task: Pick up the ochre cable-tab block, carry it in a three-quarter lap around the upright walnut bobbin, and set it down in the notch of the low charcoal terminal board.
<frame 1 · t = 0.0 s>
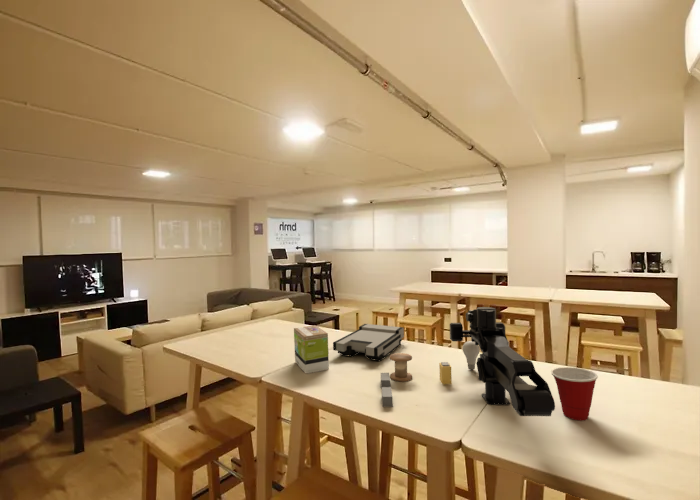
hand: (470, 326, 129), 17 cm above the table, tool horizontal, fingers open, 9 cm apart
lightbulb: (471, 370, 129), on the table
bobbin: (401, 377, 124), on the table
tea box: (311, 366, 138), on the table
tab block: (445, 381, 119), on the table
notch board: (386, 392, 111), on the table
game console: (370, 351, 157), on the table
plastic cup: (574, 415, 94), on the table
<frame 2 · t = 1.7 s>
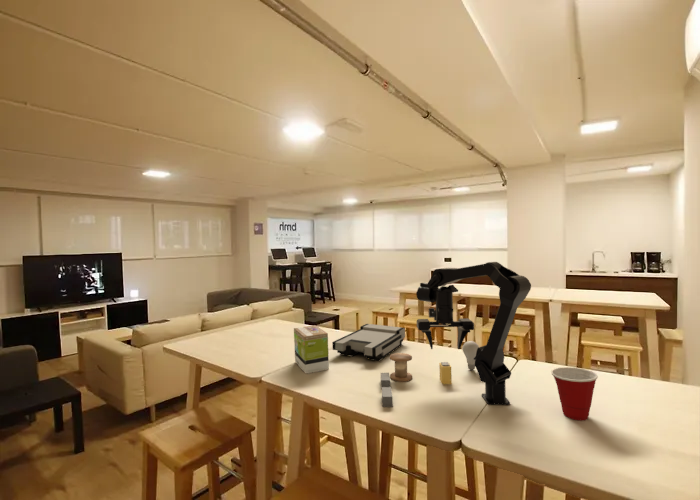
hand: (445, 349, 119), 11 cm above the table, tool pointing down, fingers open, 9 cm apart
nothing on the table moved.
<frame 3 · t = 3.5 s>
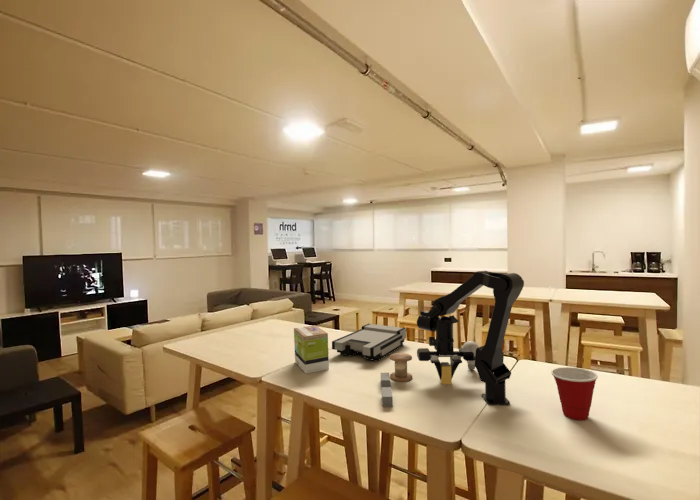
hand: (445, 378, 119), 1 cm above the table, tool pointing down, fingers closed on tab block, 3 cm apart
tab block: (445, 381, 119), on the table, touching gripper
everything else where it was.
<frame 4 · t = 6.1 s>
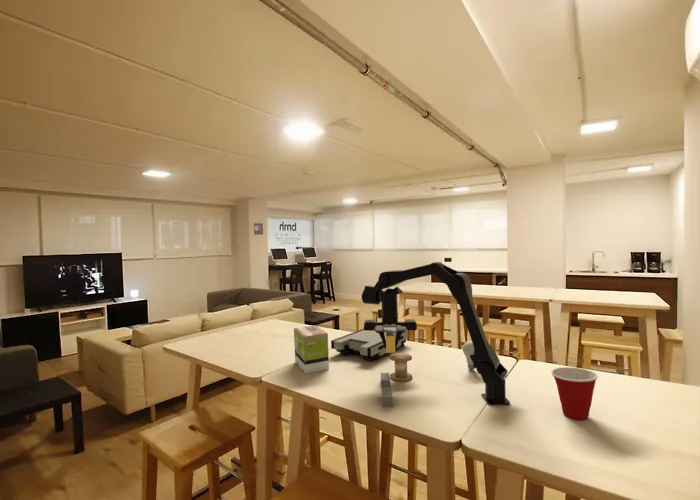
hand: (390, 348, 124), 10 cm above the table, tool pointing down, fingers closed on tab block, 3 cm apart
tab block: (390, 351, 124), point 9 cm above the table, touching gripper
when the fingers open (3 cm above the table, at t = 8.9 s): tab block drops 3 cm, on the table.
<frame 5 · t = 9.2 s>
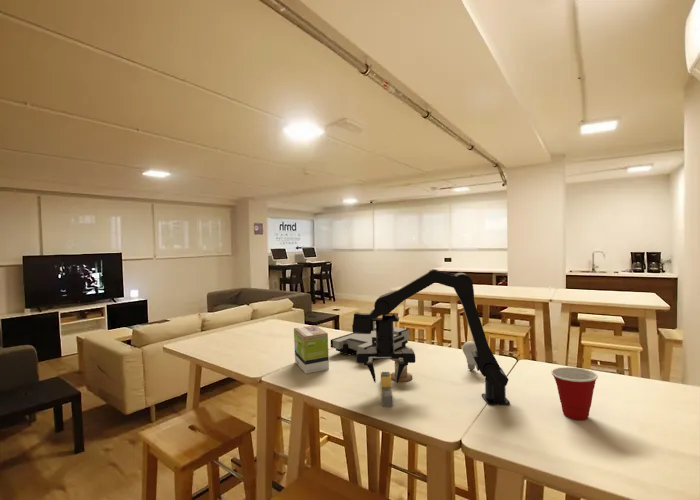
hand: (386, 382, 111), 3 cm above the table, tool pointing down, fingers open, 7 cm apart
tab block: (386, 392, 111), on the table
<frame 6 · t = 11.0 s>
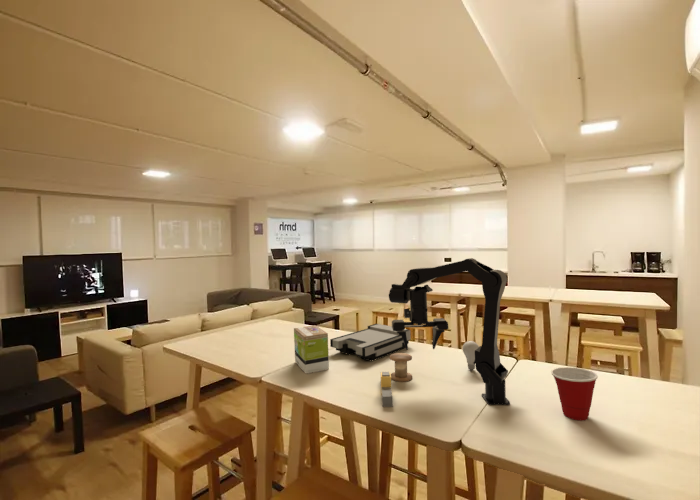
hand: (420, 349, 119), 12 cm above the table, tool pointing down, fingers open, 9 cm apart
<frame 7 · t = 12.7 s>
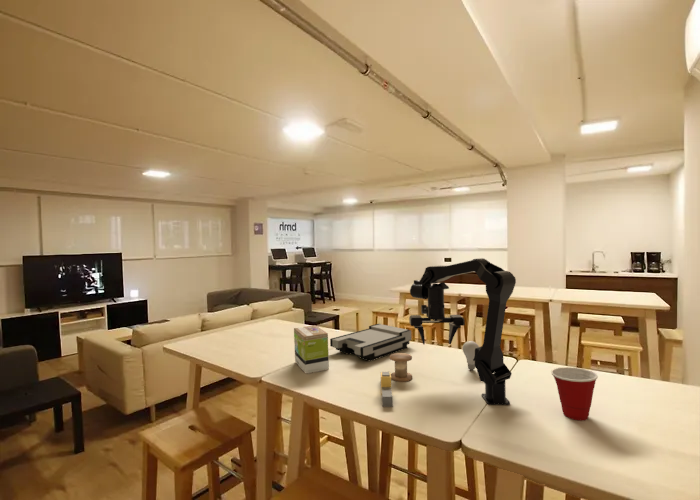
hand: (436, 344, 123), 12 cm above the table, tool pointing down, fingers open, 9 cm apart
at the end: tab block 0.0 cm from the target spot, on the table; tab block tilted 0°; the gripper is holding nothing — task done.
